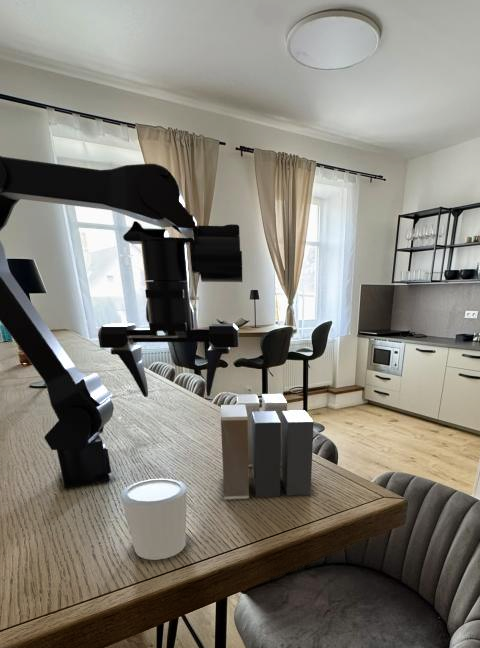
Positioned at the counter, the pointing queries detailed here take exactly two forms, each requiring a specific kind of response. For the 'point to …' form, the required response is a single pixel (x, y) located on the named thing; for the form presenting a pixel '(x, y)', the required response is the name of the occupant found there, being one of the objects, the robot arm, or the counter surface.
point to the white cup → (156, 517)
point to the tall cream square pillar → (235, 451)
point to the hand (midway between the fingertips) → (177, 395)
